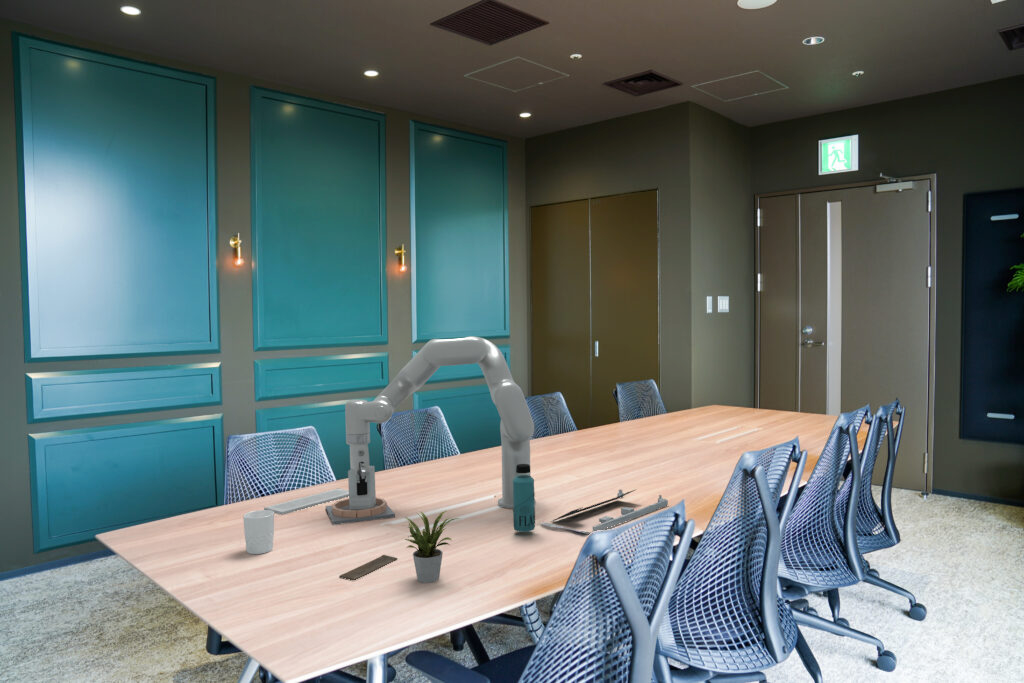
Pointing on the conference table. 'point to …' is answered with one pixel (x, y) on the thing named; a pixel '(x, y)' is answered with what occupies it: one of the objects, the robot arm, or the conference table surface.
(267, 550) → the white cup
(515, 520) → the beverage bottle
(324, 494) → the plaque
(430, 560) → the house plant
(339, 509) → the ring holder
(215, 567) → the conference table surface
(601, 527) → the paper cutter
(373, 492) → the supplement box
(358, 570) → the wooden plank
